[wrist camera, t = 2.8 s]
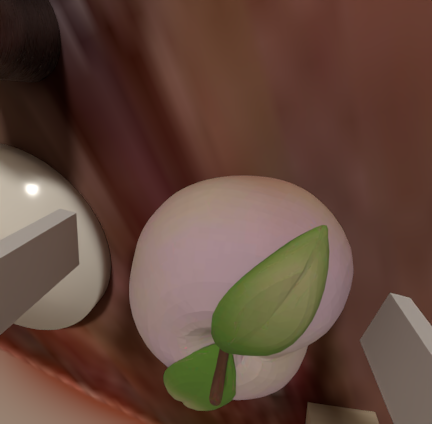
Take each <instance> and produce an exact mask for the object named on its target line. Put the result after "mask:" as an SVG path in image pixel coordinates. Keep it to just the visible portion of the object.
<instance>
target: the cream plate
mask: <svg viewBox="0 0 432 424" xmlns="http://www.w3.org/2000/svg"><path fill="white" fill-rule="evenodd" d="M58 209H63V210H67V211H71V212H75V213H76V215H77V232H78V249H79V265H78V266H77V267H76V268H75V269H74V270H73V271H71V272H70V273H69V274H68V275H67V276H66V277H65V278H64V279H62V280H61V281H60V282H59V283H58V284H57V285H56V286H55V287H53V288H52V289H51V290H50V291H49V292H48V293H47V294H46V295H44V296H43V297H42V298H41V299H40V300H39V301H38V302H37V303H35V304H34V305H33V306H32V307H31V308H30V309H29V310H28V311H26V312H25V313H24V314H23V315H22V316H21V317H20V318H19V319H17V320H16V321H15V322H14V324H17V325H20V326H24V327H28V328H33V329H41V330H55V329H61V328H66V327H69V326H71V325H74V324H76V323H77V322H79V321H81V320H82V319H83V318H84V317H85V316H86V315H87V314H88V313H89V312H90V311H91V310H92V309H93V307H94V306H95V305H96V304H97V303H98V301H99V300H100V299H101V298H102V296H103V295H104V293H105V291H106V289H107V287H108V284H109V280H110V274H111V258H110V252H109V247H108V243H107V240H106V237H105V234H104V231H103V229H102V227H101V225H100V223H99V221H98V219H97V217H96V216H95V214H94V212H93V211H92V209H91V207H90V206H89V205H88V203H87V202H86V201H85V199H84V198H83V197H82V195H81V194H80V193H79V192H78V191H77V190H76V189H75V188H74V187H73V185H72V184H71V183H70V182H69V181H67V180H66V179H65V178H64V177H63V176H62V175H61V174H60V173H59V172H57V171H56V170H55V169H53V168H52V167H51V166H49V165H48V164H46V163H45V162H43V161H42V160H40V159H38V158H37V157H35V156H33V155H31V154H29V153H27V152H25V151H23V150H20V149H18V148H15V147H12V146H9V145H5V144H1V143H0V240H1V239H3V238H5V237H7V236H9V235H11V234H13V233H15V232H16V231H18V230H20V229H22V228H24V227H26V226H28V225H30V224H32V223H34V222H35V221H37V220H39V219H41V218H43V217H45V216H47V215H49V214H51V213H53V212H54V211H56V210H58Z"/></svg>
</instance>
